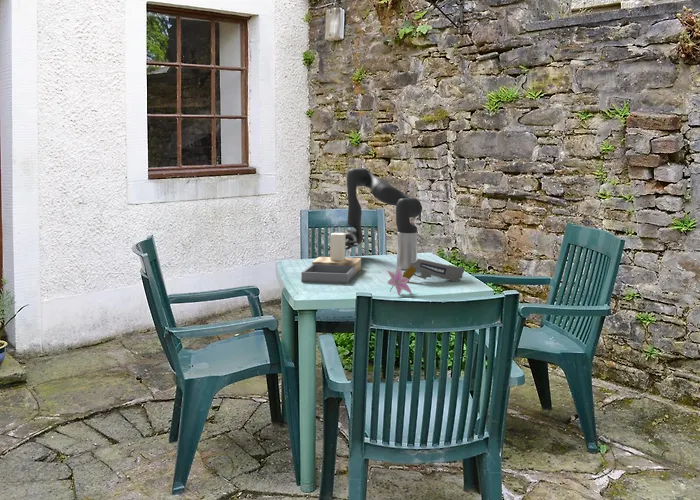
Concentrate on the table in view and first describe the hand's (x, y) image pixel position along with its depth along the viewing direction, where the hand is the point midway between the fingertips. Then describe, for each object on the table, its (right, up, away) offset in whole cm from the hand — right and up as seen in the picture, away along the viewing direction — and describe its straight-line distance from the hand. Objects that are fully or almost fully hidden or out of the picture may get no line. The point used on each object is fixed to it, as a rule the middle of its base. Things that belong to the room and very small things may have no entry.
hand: (341, 245), depth 357 cm
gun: (+40, -16, -34) cm, 54 cm away
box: (-5, -14, -30) cm, 33 cm away
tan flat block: (-2, -12, -11) cm, 16 cm away
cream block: (-2, -6, -9) cm, 12 cm away
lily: (+23, -19, -60) cm, 67 cm away
